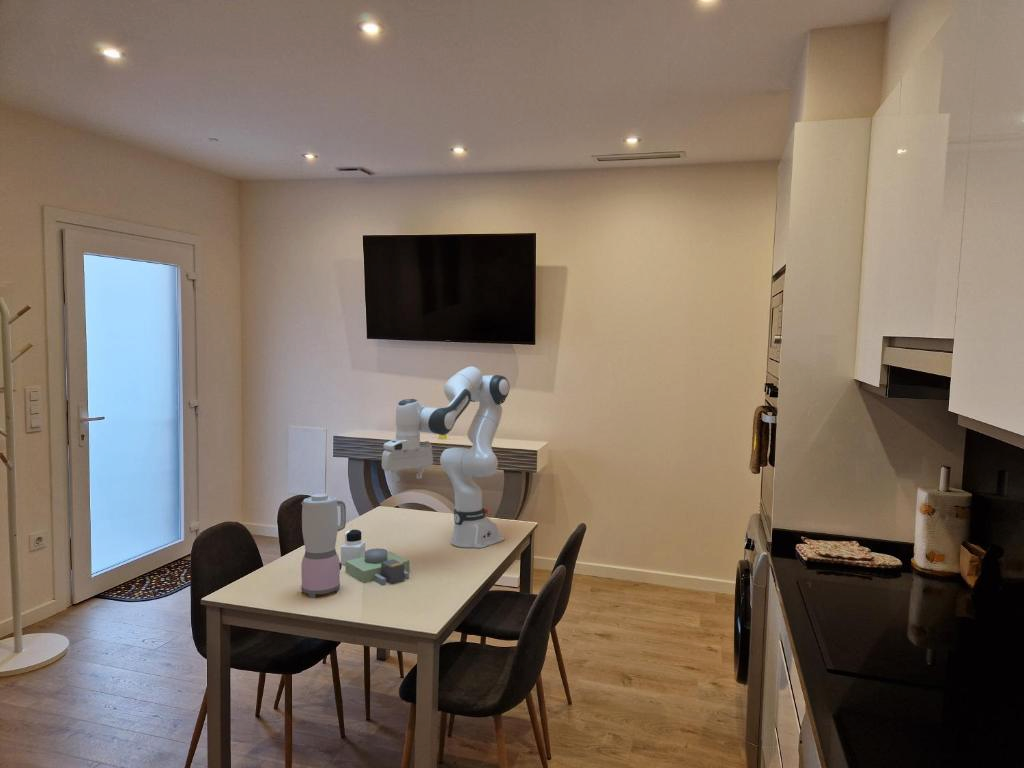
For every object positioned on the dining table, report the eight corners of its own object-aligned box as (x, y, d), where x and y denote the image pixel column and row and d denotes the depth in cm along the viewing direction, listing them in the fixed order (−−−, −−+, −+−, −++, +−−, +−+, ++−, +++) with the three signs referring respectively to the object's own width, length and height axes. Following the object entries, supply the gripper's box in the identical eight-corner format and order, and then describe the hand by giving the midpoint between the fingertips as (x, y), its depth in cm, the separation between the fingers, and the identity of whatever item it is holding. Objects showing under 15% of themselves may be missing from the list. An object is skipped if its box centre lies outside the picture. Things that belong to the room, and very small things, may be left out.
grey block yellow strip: (393, 575, 237) (393, 557, 236) (404, 581, 231) (404, 562, 231) (381, 579, 233) (381, 560, 233) (391, 584, 228) (391, 565, 228)
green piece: (390, 561, 252) (389, 543, 251) (418, 576, 236) (418, 556, 236) (345, 571, 240) (345, 552, 240) (372, 587, 225) (371, 567, 224)
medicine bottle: (365, 559, 254) (365, 528, 253) (359, 565, 247) (359, 533, 246) (347, 559, 255) (347, 527, 254) (340, 565, 248) (340, 533, 247)
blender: (312, 601, 213) (310, 501, 211) (294, 591, 222) (292, 495, 220) (355, 588, 224) (354, 493, 222) (337, 579, 233) (336, 488, 231)
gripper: (427, 439, 257) (427, 475, 258) (379, 444, 244) (379, 482, 245) (436, 441, 252) (436, 478, 253) (387, 446, 239) (388, 485, 240)
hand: (408, 480), depth 249 cm, fingers open, 8 cm apart
